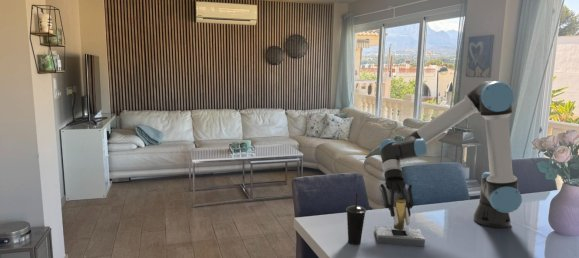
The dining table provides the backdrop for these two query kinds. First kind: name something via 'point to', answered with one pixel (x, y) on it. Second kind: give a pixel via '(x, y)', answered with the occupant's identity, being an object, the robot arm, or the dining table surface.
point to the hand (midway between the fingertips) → (402, 223)
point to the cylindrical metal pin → (400, 213)
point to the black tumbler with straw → (355, 223)
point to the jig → (399, 236)
